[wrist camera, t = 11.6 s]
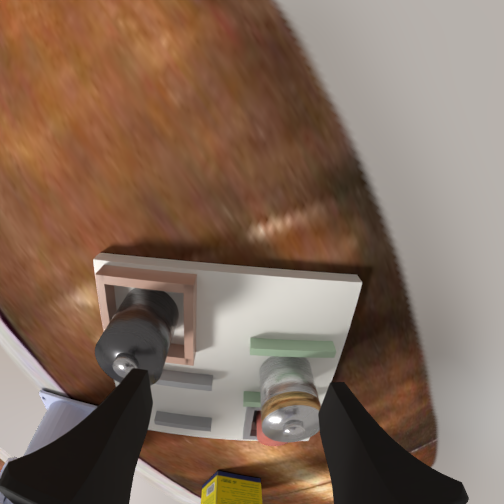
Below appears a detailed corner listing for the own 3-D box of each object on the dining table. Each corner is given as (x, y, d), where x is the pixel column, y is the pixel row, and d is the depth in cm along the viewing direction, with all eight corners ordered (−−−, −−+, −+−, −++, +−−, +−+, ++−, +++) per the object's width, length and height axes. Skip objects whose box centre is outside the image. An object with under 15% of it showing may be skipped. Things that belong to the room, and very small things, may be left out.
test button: (288, 424, 26) (291, 445, 24) (254, 423, 26) (255, 445, 23) (294, 403, 25) (298, 426, 22) (258, 402, 25) (259, 425, 22)
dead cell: (179, 337, 21) (162, 399, 16) (127, 330, 21) (98, 387, 16) (178, 289, 20) (156, 346, 14) (121, 282, 20) (84, 334, 14)
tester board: (306, 431, 28) (310, 452, 25) (129, 416, 27) (123, 436, 24) (357, 274, 21) (370, 293, 19) (100, 252, 20) (83, 268, 18)
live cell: (303, 390, 24) (314, 449, 18) (254, 387, 23) (256, 448, 18) (317, 354, 22) (334, 414, 17) (264, 349, 22) (269, 413, 16)
